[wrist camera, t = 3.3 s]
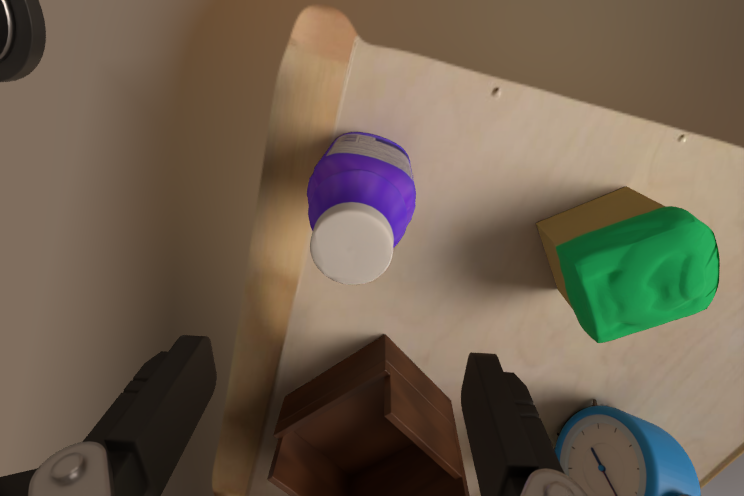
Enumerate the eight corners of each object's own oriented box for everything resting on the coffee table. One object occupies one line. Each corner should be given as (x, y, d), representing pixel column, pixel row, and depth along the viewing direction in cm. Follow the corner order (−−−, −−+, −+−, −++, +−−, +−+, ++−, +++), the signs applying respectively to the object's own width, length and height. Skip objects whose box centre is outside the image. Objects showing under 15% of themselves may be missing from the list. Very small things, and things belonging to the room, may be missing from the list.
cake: (661, 259, 37) (749, 322, 28) (552, 297, 39) (602, 367, 30) (644, 170, 33) (740, 211, 24) (525, 219, 36) (573, 272, 27)
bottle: (321, 183, 35) (270, 283, 19) (334, 120, 32) (288, 177, 17) (397, 203, 35) (408, 315, 20) (416, 143, 33) (445, 217, 17)
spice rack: (284, 396, 47) (240, 544, 33) (385, 333, 42) (385, 474, 28) (352, 451, 51) (340, 603, 37) (451, 400, 46) (480, 551, 32)
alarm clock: (605, 379, 44) (702, 519, 31) (646, 397, 45) (756, 539, 32) (536, 445, 50) (593, 588, 36) (574, 459, 51) (643, 603, 37)
